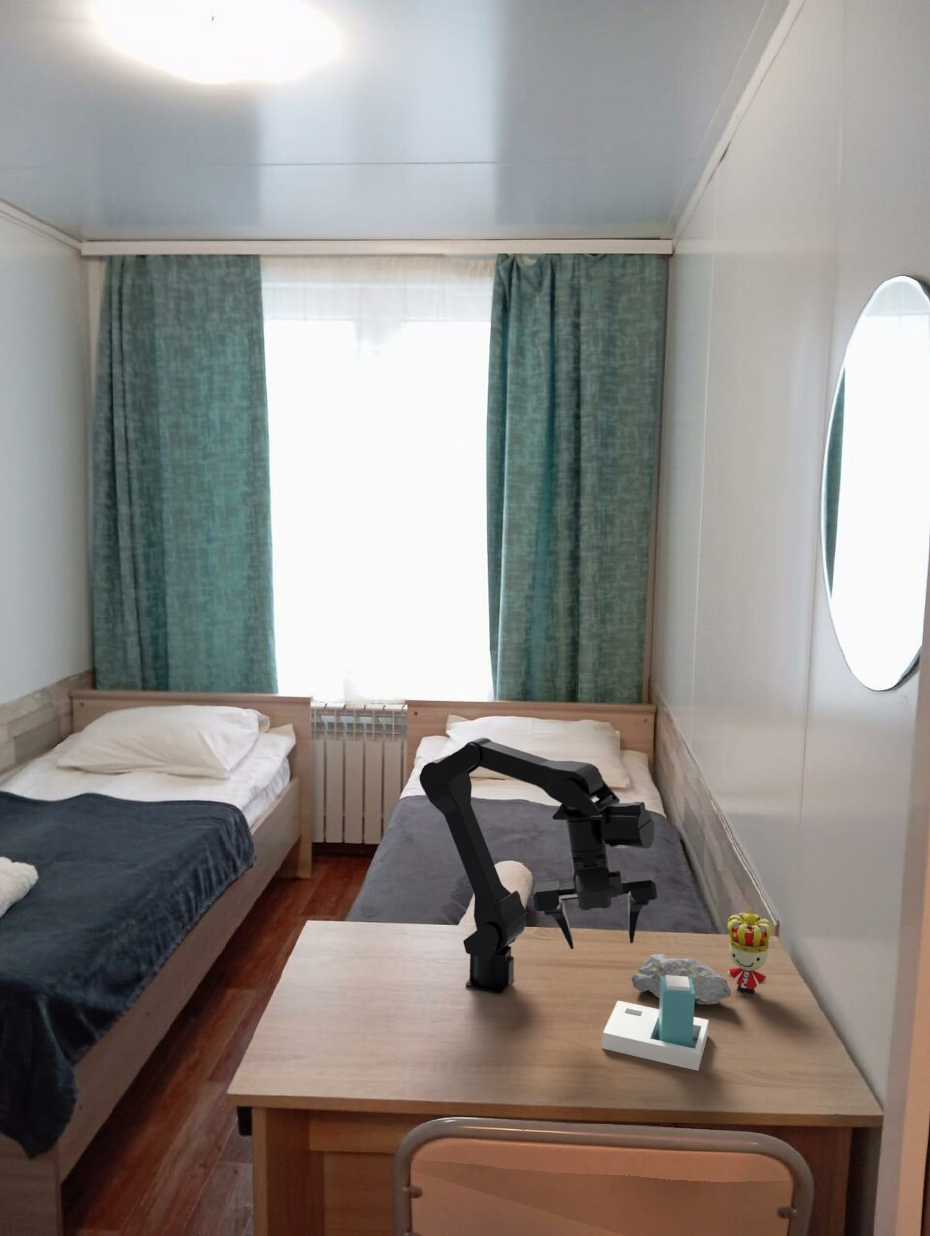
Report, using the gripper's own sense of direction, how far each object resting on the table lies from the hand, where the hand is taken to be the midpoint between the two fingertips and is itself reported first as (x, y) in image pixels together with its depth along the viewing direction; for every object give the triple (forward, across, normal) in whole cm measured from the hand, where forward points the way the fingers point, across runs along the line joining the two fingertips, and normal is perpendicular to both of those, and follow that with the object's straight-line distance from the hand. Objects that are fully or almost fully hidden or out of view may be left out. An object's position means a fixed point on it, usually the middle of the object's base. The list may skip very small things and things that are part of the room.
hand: (601, 945), depth 148 cm
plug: (+14, +9, -6) cm, 17 cm away
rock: (+14, +11, +10) cm, 20 cm away
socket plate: (+14, +6, -4) cm, 16 cm away
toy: (+15, +22, +13) cm, 30 cm away
